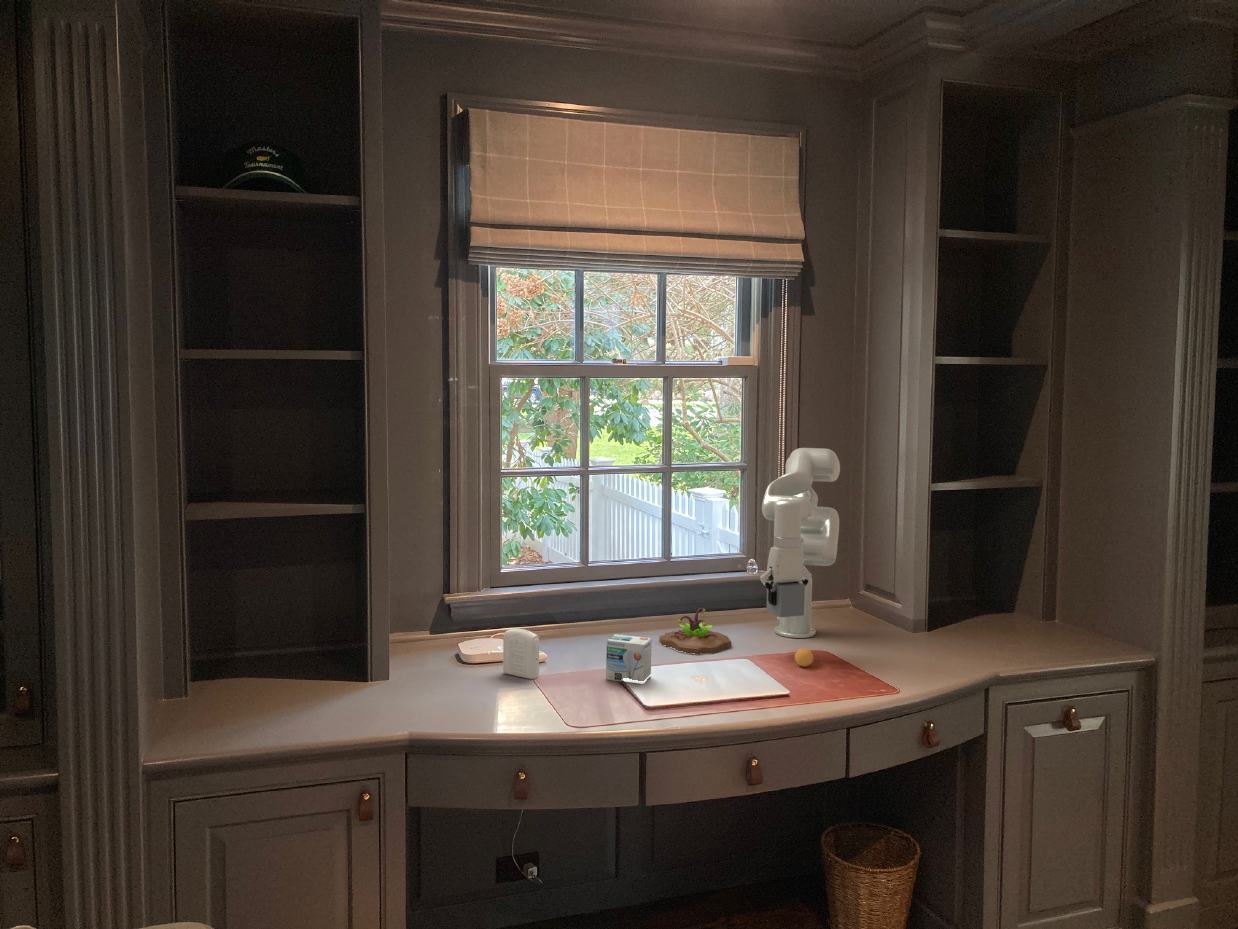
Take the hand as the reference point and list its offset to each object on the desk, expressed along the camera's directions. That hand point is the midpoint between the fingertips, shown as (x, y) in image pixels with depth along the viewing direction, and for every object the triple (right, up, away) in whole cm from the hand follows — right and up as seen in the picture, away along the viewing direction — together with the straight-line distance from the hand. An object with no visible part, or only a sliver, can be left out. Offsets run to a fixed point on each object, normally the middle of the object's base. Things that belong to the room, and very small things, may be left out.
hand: (785, 603), depth 262 cm
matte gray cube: (0, -3, 0) cm, 3 cm away
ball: (+4, -14, -8) cm, 17 cm away
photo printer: (-74, -16, -19) cm, 78 cm away
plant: (-24, -15, +12) cm, 31 cm away
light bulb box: (-45, -17, -21) cm, 53 cm away
